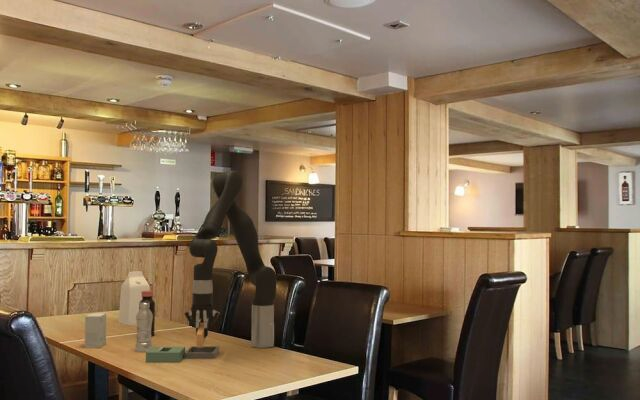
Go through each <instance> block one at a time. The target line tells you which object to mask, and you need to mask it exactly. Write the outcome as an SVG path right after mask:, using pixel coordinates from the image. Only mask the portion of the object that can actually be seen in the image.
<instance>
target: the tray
mask: <svg viewBox="0 0 640 400" xmlns="http://www.w3.org/2000/svg"><path fill="white" fill-rule="evenodd" d="M219 352H220V346H215V345H213V346H205V345H203V347H202V348H197V345H194V346H192V345H191V346H190V347H188V349H187V350H185V353H184V358H183V359H184V360H186V359H187V360H188V359H189V360H193V359H194V360H196V359H197V360H199V359H200V360H203V359H205V360H207V359H208V360H214V359H215V358H216V357H217V355H218V354H219Z"/></svg>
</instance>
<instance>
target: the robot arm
mask: <svg viewBox="0 0 640 400" xmlns="http://www.w3.org/2000/svg"><path fill="white" fill-rule="evenodd" d="M212 186H213V187H212V188H213V190H214V192H215V195H216V196H217V198H218V199H217V201H216V202H215V203H214V204H213V206H212V207H210V210H209V211H208V212H207V214H206V216H205V219H204V220H203V223H202V226H201V227H200V229H199V230H198V231H197V233H196V234H195V235H194V236H193V238H192V240H190V244H189V247H188V248H189V253H190V255H191V256H192V257H194V258H204V259H203V261H202V262H201V263H196V264H195V265H194V266H193V281H192V282H193V283H192V289H191V291H192V297H191V298H192V304H191V307H190V309H189V310H187V311H185V312H184V316H185V317H186V319H187V321H188V323H189V324H190V326H191V327H194V328H195V335H196V334H197V331H198V329H199V327H200V323H201V320H202V319H203V323H204V338H206V339H207V337H208V335H209V328H211V327H212V326H213V325H214V324H215V322H216V320H217V319H218V317H219V315H220V311H217V310H215V308H214V306H213V298H214V297H213V294H214V293H213V292H214V291H213V290H214V289H213V287H214V285H213V268H214V265H215V261H216V257H217V255H218V250H219V249H218V244H217V242H216V240H214V239H215V238H217V237H218V236H219V234H220V232H221V229H222V226H223V224H224V221H225V218H226V217H227V220H228V223H229V225H230V229H231V230H232V233H233V235H234V239H235V241H236V243H237V246H238V248H239V250H240V251H239V252H240V253H241V256H242V257H243V260H244V263H245V266H246V271H247V275H248V278H249V281H250V283H251V284H252V285H253V286H254V287H255V293H254V295H253V297H252V298H251V339H250V340H251V347H253V348H259V349H265V348H273V347H274V346H275V322H274V321H275V319H274V318H275V316H274V315H275V299H276V296H277V274H276V272H275V270H274V269H273V268H272V267H271V266H266V265H265V263H264V261H263V259H262V256H261V254H260V248H259V235H258V232H257V230H256V229H257V228H256V227H255V224H254V222H253V219H252V218H251V217H250V216H249V214H248V213H247V212H245V211H244V209H242V207H240V205H239V204H238V203H237V202H236V198H237V197H238V195H239V193H240V191H241V189H242V187H243V177H242V175H241V173H239V172H238V171H236V170H228V171H225V172H222V173H218V174H216V175H214V177H213V179H212ZM211 314H212V316H213V317H212V319H211V320H210V322H209V317H210V316H211ZM192 315H194V317H195V320H194V318H193V317H192Z"/></svg>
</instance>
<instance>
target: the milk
mask: <svg viewBox="0 0 640 400" xmlns="http://www.w3.org/2000/svg"><path fill="white" fill-rule="evenodd" d="M150 289H151V287H150V284H149V283H148V281H147V279H146V278H145V276H144V274H143V271H142V270H138V271H135V270H134V271H129V272H128V275H127V277H126V279H125V280H124V281H123V282H122V284H121V287H120V296H119V297H120V299H119V309H118V310H119V311H118V322H119V323H118V324H121V323H122V324H121V325H124V324H125V326H128V325H130V326H137V321H136V315H137V313H138V311H139V302H140V301H141V300H142V291H151V290H150Z"/></svg>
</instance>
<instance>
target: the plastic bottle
mask: <svg viewBox="0 0 640 400" xmlns="http://www.w3.org/2000/svg"><path fill="white" fill-rule="evenodd" d="M149 307H150V306H149V302H141V303H140V310H139V311H138V313H137V315H136V321H137V325H136V333H137V334H136V342H135V352H137V353H146V352H147V351H148V350H150V349H151V348H152V347H154V346H153V339H152V336H151V326H152V318H153V315H152V312H151V311H150V310H149Z"/></svg>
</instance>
